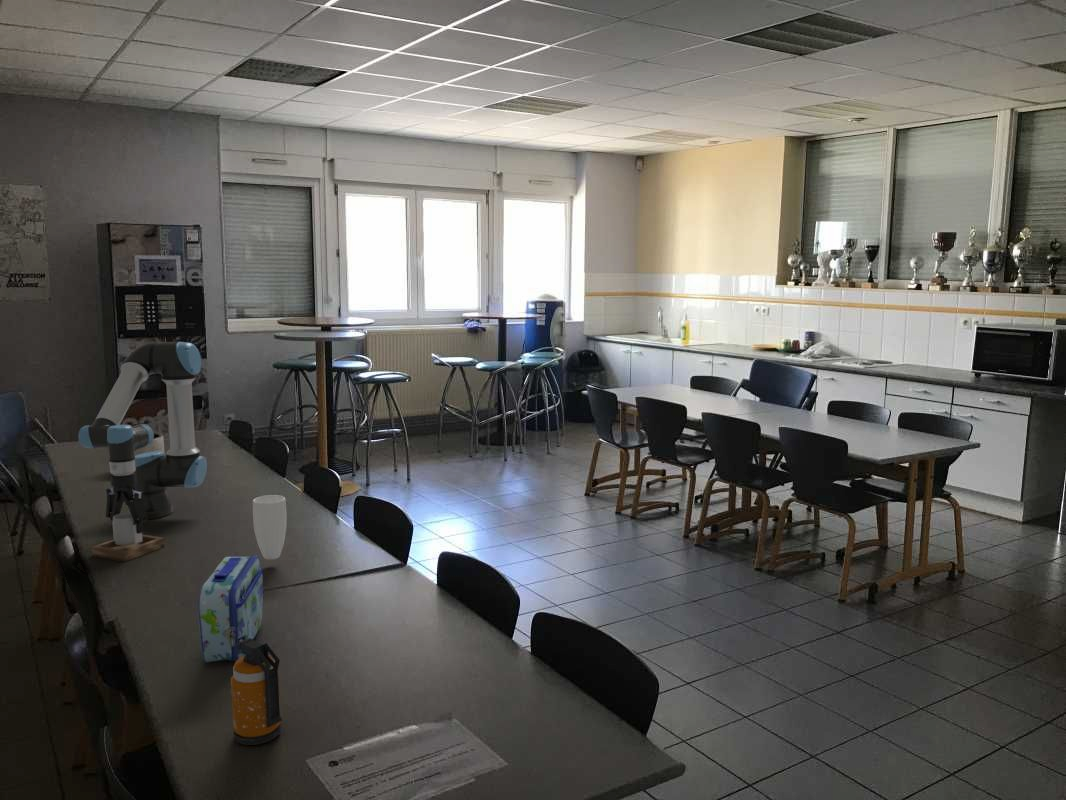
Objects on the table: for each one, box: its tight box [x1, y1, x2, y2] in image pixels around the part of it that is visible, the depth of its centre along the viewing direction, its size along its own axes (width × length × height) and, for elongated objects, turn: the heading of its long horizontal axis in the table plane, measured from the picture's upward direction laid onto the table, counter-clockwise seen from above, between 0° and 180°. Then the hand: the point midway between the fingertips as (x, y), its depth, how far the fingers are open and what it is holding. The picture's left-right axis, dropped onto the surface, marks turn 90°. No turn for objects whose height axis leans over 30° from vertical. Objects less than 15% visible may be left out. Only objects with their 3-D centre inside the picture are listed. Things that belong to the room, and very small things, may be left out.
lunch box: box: [198, 554, 264, 663], centre depth 208 cm, size 26×11×21 cm, turn 5°
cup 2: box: [252, 494, 288, 560], centre depth 263 cm, size 10×10×22 cm
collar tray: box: [91, 533, 165, 563], centre depth 277 cm, size 16×14×3 cm
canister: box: [230, 638, 283, 746], centre depth 168 cm, size 9×11×20 cm
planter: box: [134, 432, 166, 456], centre depth 384 cm, size 18×18×16 cm
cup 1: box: [113, 512, 138, 546], centre depth 277 cm, size 7×10×9 cm
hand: (128, 540), depth 277 cm, fingers closed on cup 1, 8 cm apart
